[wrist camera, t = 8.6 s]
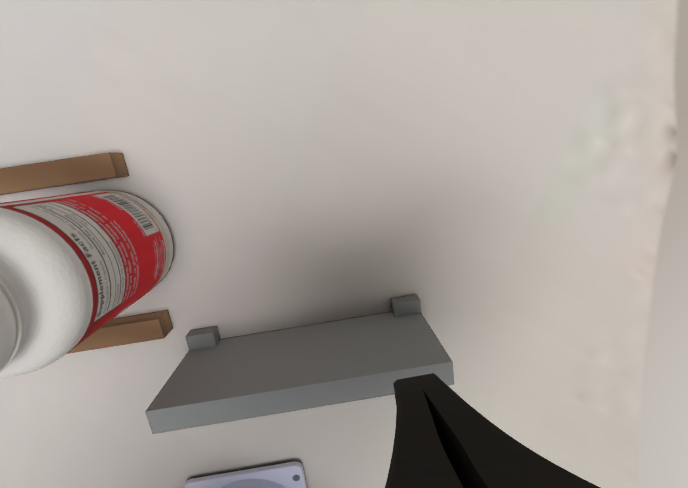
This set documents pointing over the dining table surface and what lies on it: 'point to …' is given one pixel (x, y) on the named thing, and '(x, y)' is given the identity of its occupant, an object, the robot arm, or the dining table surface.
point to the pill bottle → (73, 270)
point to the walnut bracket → (80, 172)
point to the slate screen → (297, 368)
